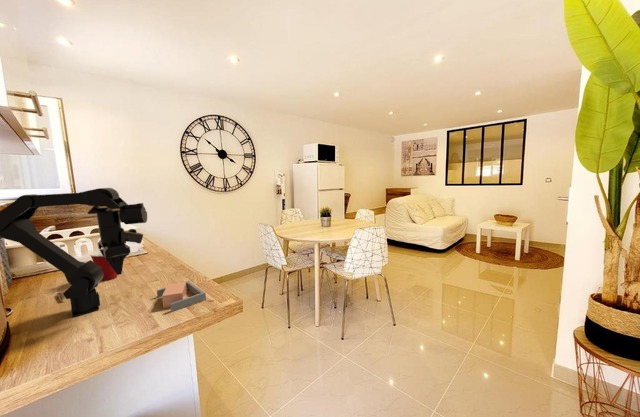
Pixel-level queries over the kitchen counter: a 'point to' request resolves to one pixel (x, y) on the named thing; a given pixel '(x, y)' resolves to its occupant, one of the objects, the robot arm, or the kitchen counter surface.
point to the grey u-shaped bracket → (188, 301)
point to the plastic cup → (103, 266)
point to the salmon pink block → (174, 293)
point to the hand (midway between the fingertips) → (117, 271)
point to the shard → (62, 296)
